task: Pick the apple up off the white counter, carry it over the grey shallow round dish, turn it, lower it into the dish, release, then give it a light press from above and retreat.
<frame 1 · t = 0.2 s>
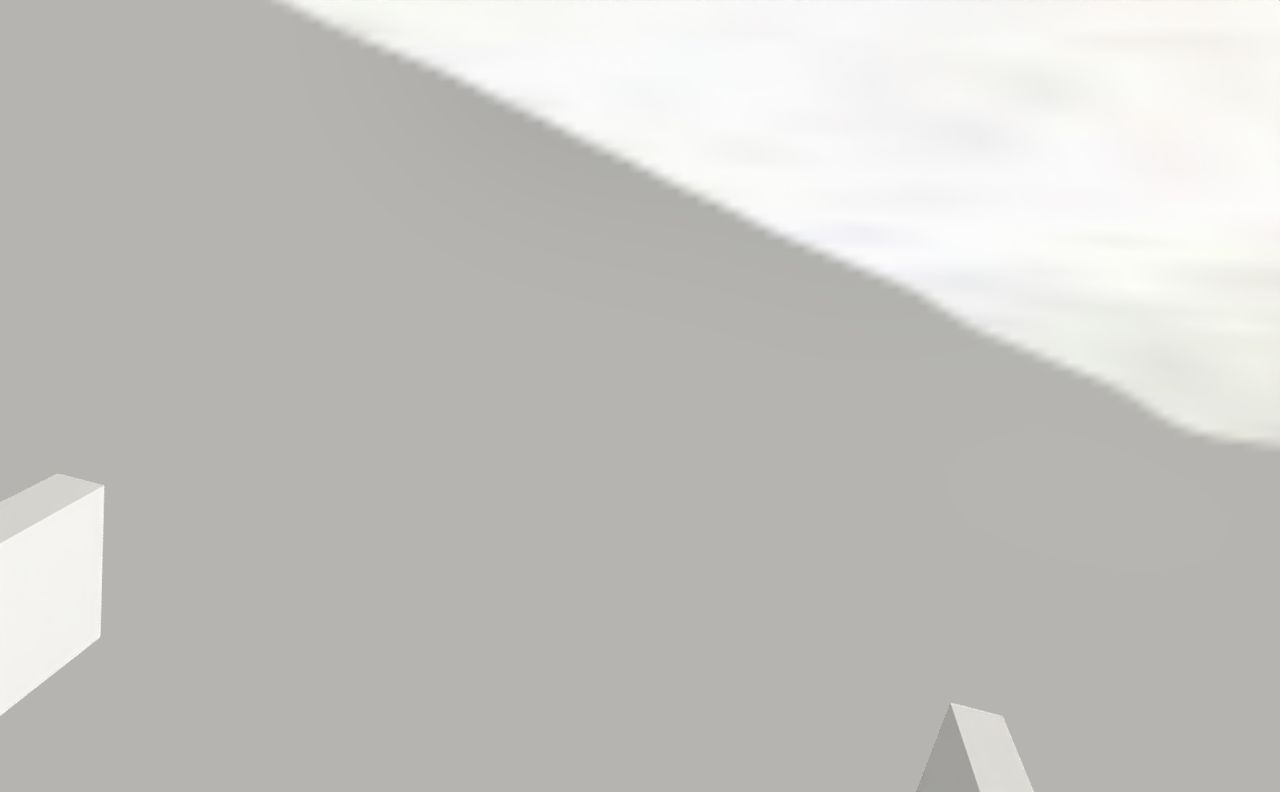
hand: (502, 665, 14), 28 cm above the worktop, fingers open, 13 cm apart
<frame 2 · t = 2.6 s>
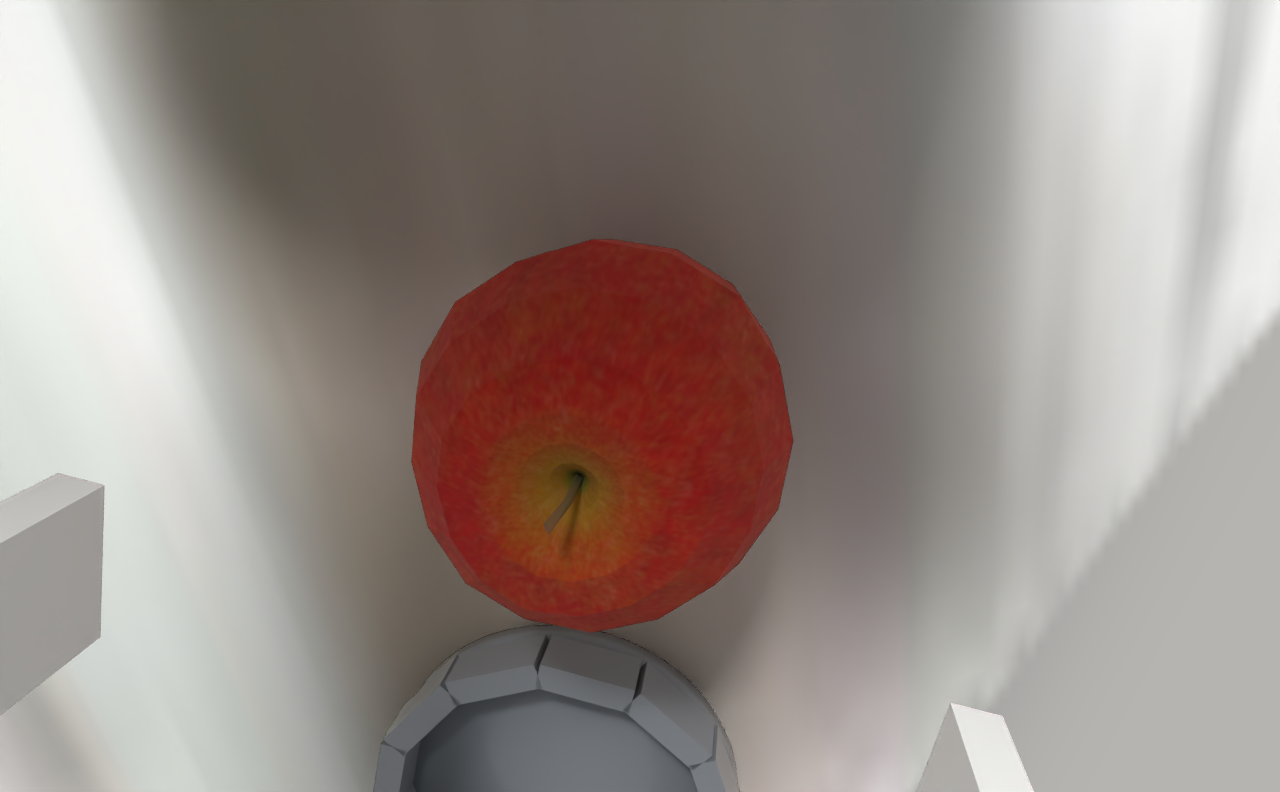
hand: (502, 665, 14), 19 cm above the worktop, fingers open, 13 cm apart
apple: (638, 357, 32), on the worktop
grey shallow round dish: (566, 775, 37), on the worktop
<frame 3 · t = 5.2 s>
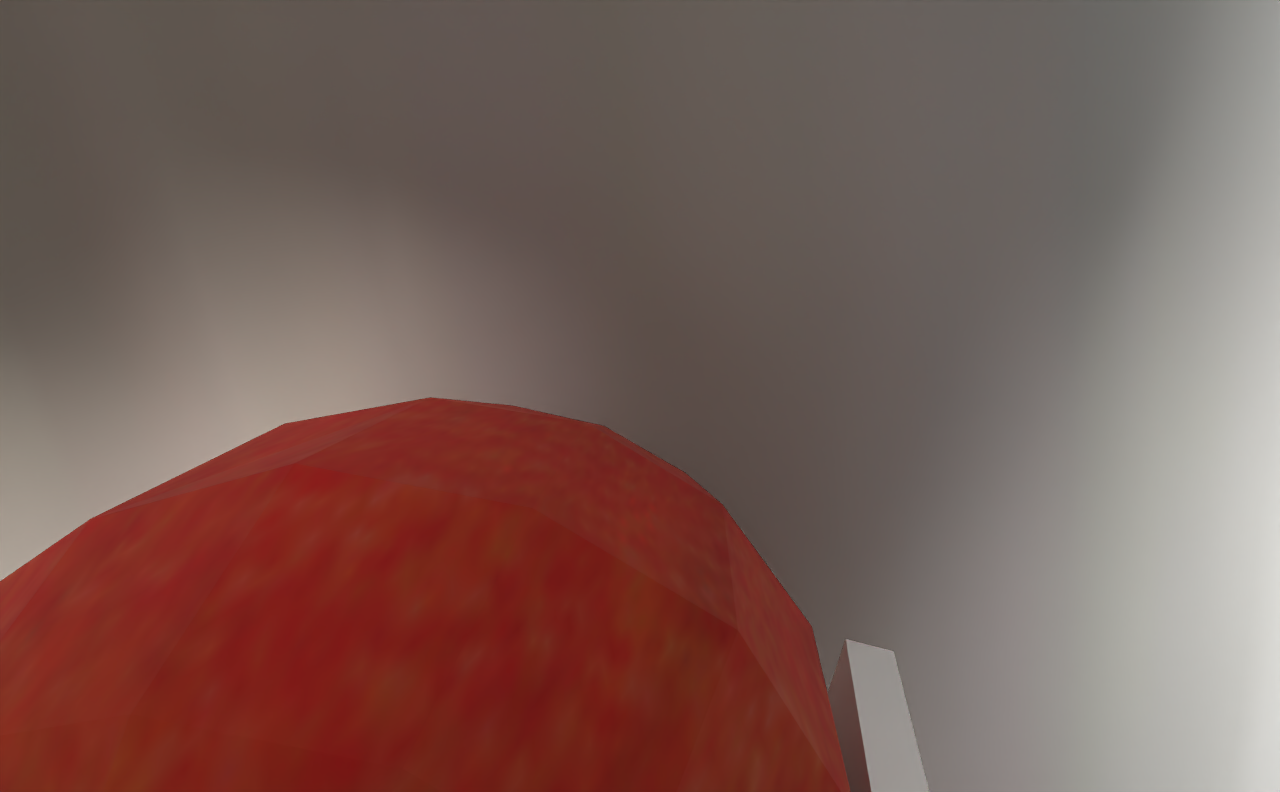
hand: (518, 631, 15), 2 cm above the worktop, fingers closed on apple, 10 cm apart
apple: (552, 561, 17), on the worktop, touching gripper
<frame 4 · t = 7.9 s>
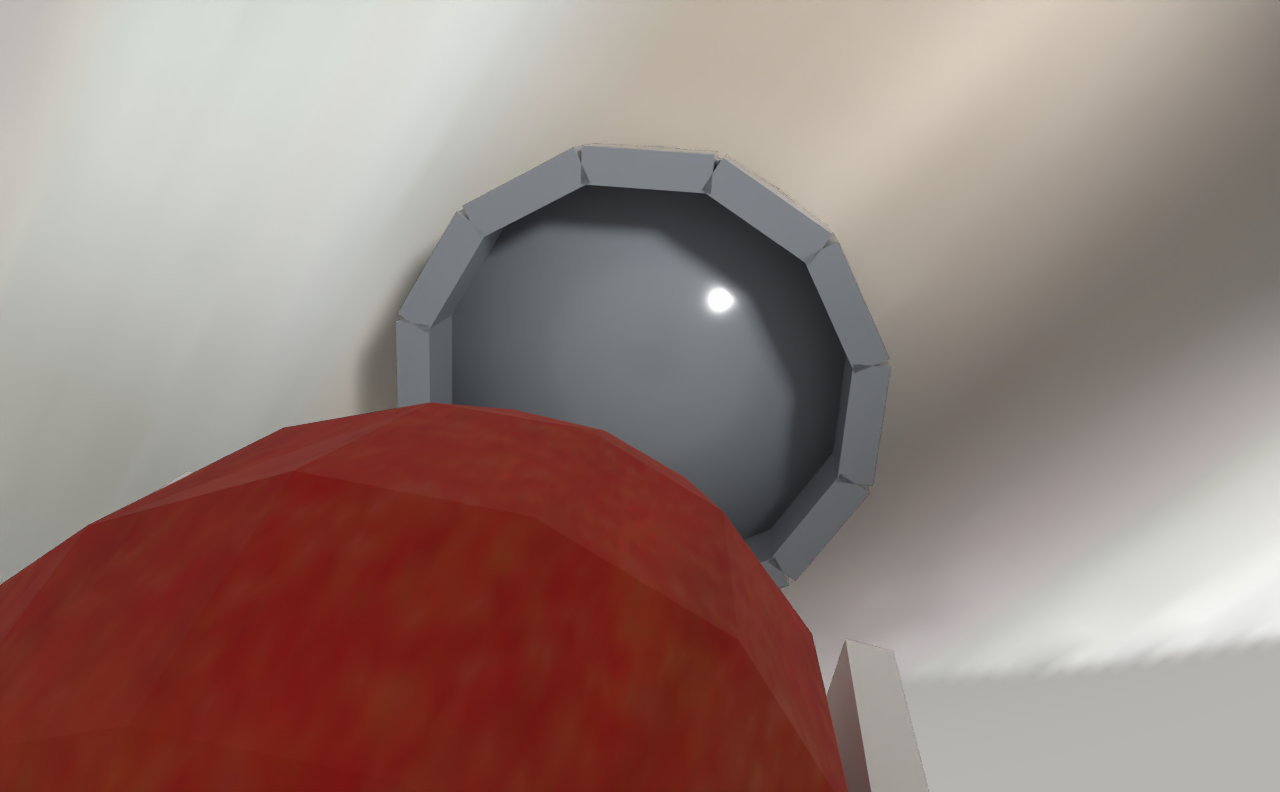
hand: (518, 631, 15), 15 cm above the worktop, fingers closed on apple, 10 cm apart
apple: (551, 564, 17), point 12 cm above the worktop, touching gripper
grey shallow round dish: (645, 374, 29), on the worktop
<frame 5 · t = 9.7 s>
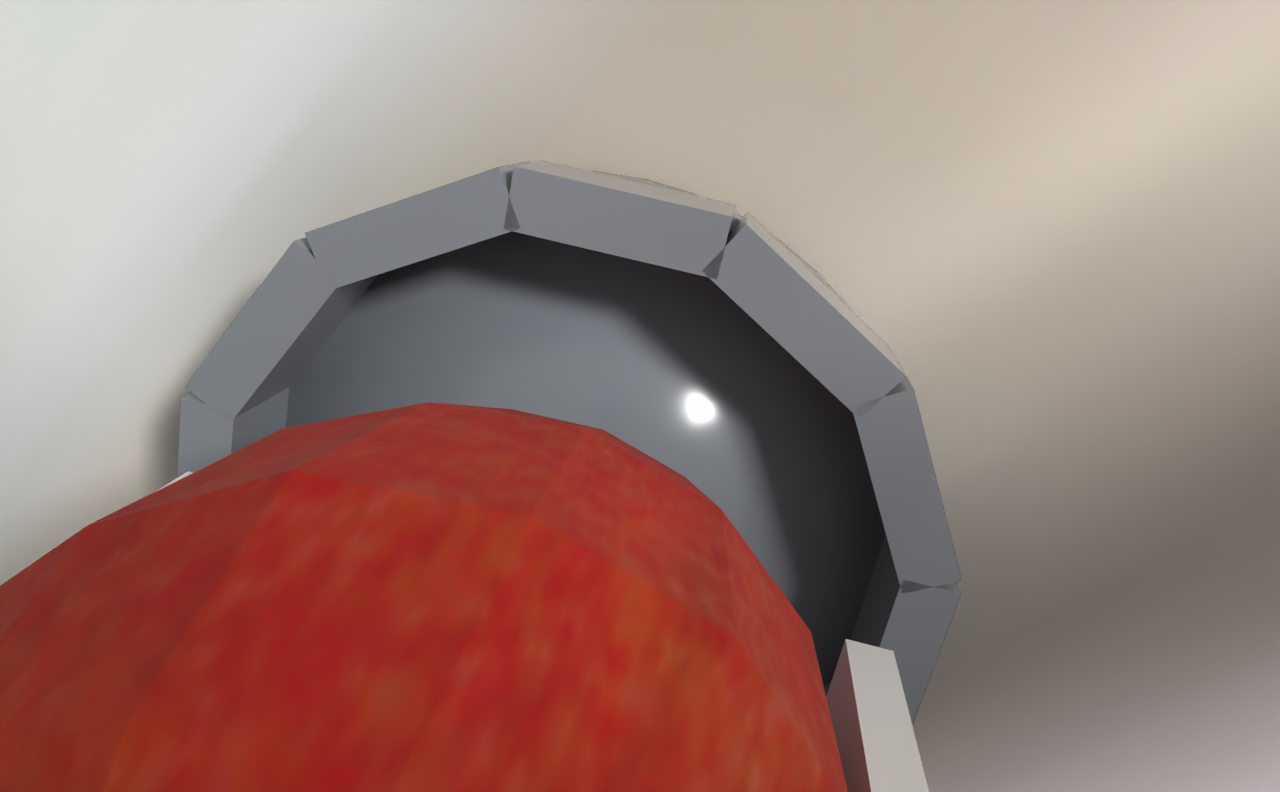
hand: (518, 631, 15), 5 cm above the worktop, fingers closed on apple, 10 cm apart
apple: (551, 564, 17), point 2 cm above the worktop, touching gripper
grey shallow round dish: (575, 511, 19), on the worktop
when the fingers open (4 cm above the worktop, at t = 10.8 s): apple stays where it is, resting on grey shallow round dish.
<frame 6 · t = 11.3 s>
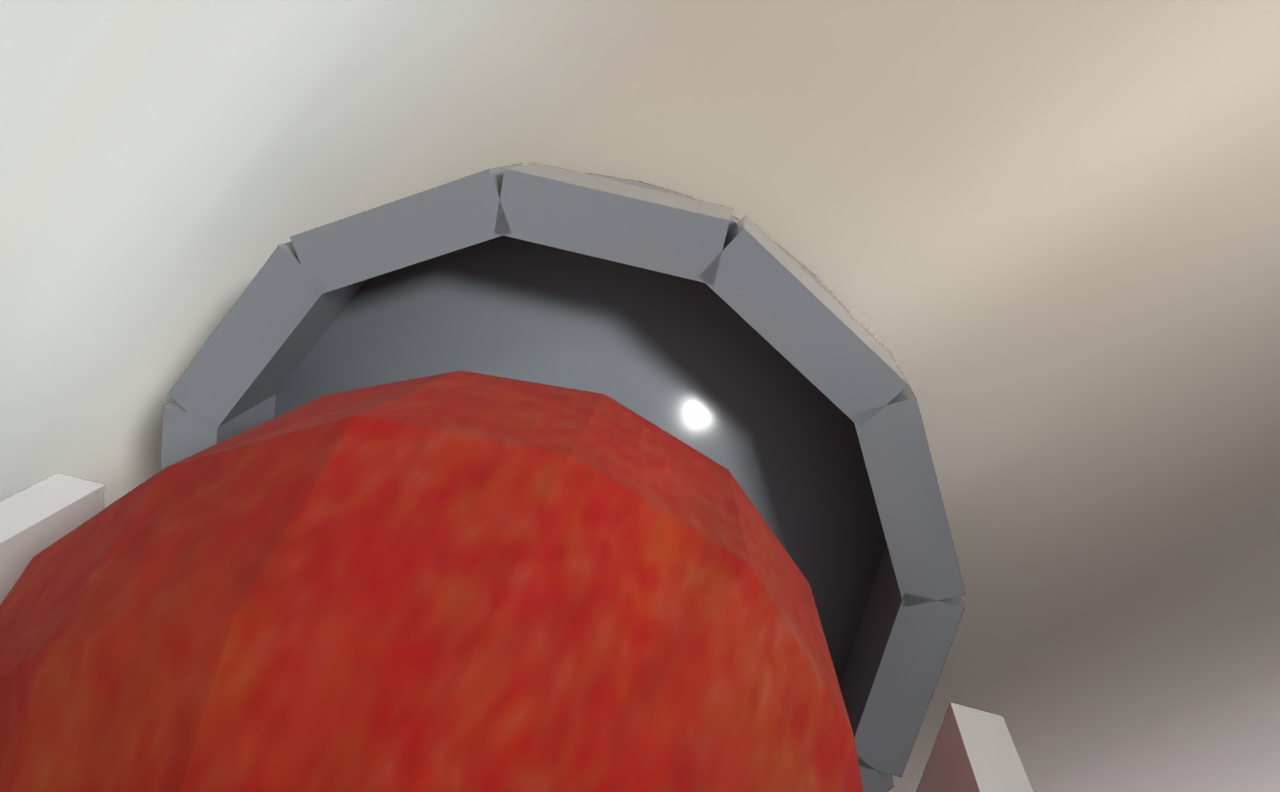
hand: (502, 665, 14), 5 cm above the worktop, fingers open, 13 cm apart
apple: (559, 539, 18), point 1 cm above the worktop, touching grey shallow round dish
grey shallow round dish: (569, 521, 19), on the worktop
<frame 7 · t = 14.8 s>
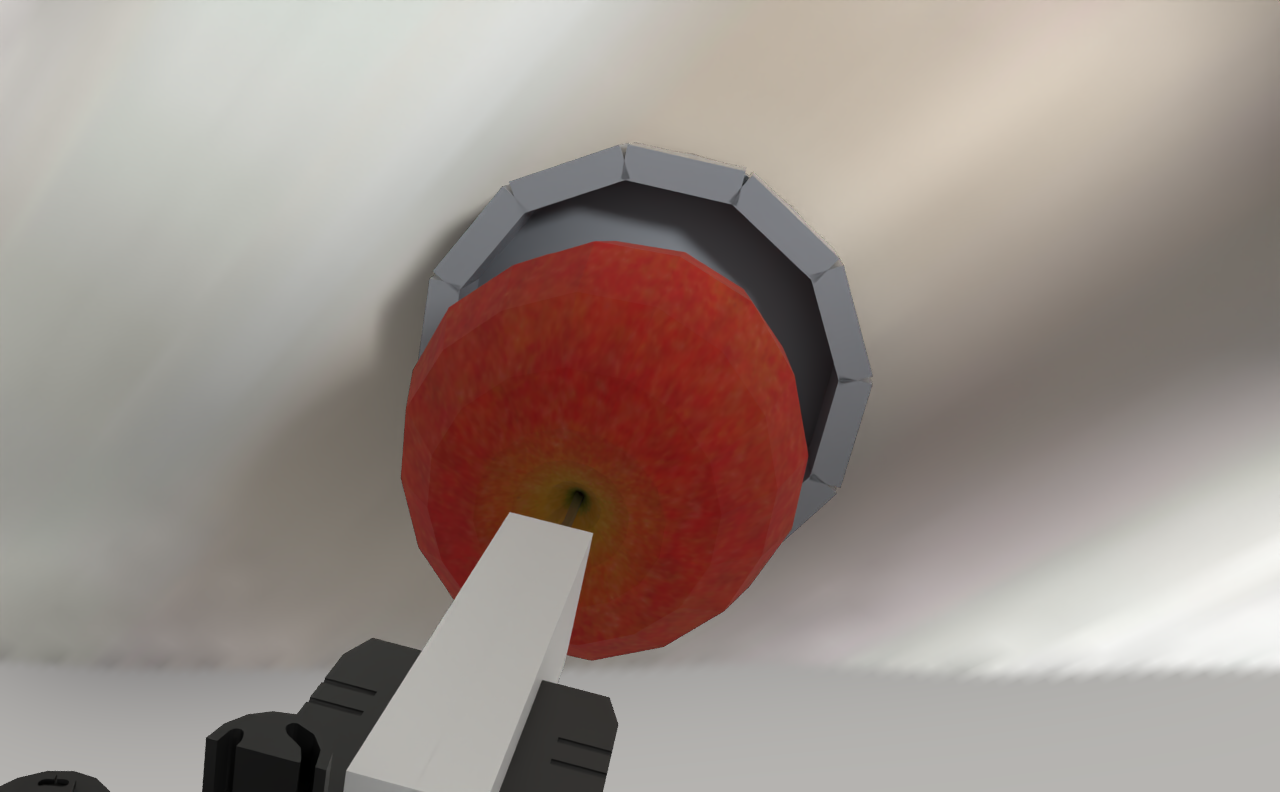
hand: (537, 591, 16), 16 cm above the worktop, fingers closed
apple: (643, 365, 30), point 1 cm above the worktop, touching grey shallow round dish
grey shallow round dish: (647, 359, 31), on the worktop
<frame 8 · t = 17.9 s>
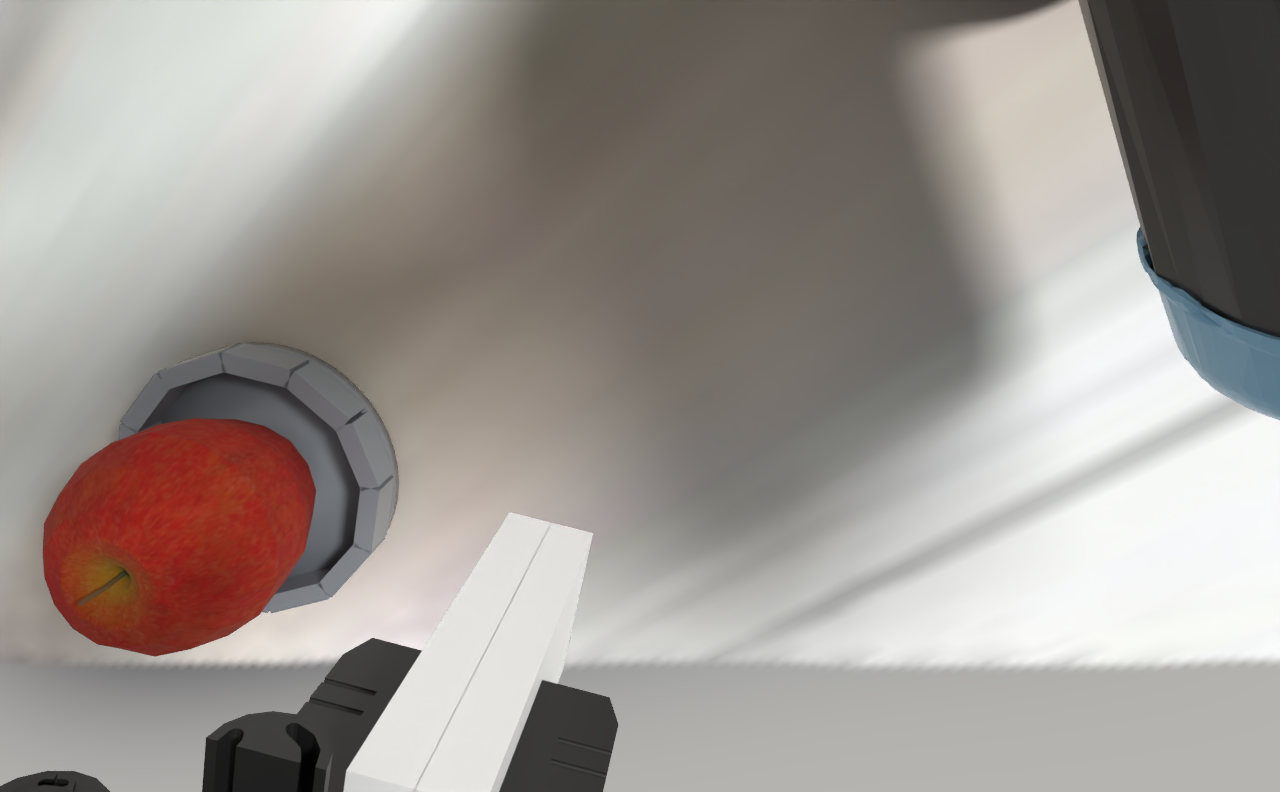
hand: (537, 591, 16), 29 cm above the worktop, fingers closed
apple: (266, 472, 49), point 1 cm above the worktop, touching grey shallow round dish
grey shallow round dish: (275, 467, 49), on the worktop
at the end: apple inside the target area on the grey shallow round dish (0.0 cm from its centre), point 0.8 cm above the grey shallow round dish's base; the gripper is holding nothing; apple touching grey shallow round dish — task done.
